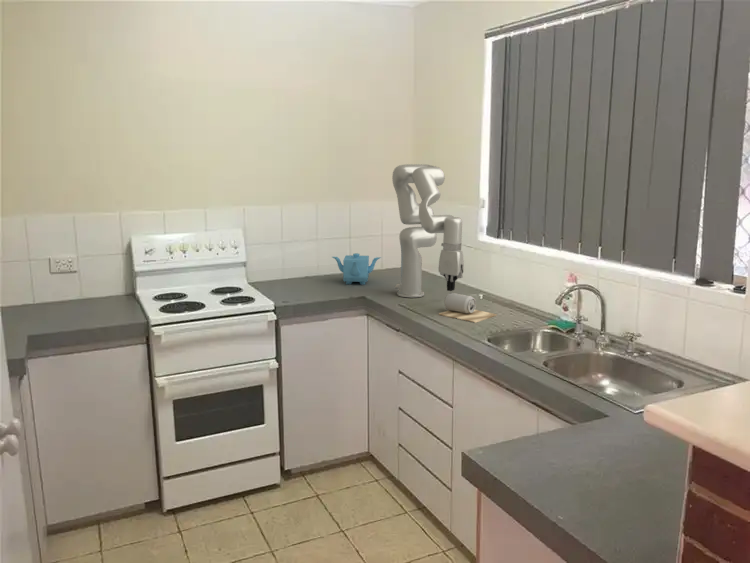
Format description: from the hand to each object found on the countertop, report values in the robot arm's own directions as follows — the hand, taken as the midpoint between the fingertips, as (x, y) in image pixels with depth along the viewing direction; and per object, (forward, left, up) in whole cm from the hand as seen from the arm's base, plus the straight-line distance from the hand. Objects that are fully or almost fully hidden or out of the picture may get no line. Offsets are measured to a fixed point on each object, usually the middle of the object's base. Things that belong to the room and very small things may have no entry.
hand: (450, 290), depth 282 cm
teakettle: (-68, +14, -9) cm, 70 cm away
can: (-1, 0, -5) cm, 5 cm away
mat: (+9, 0, -9) cm, 13 cm away
